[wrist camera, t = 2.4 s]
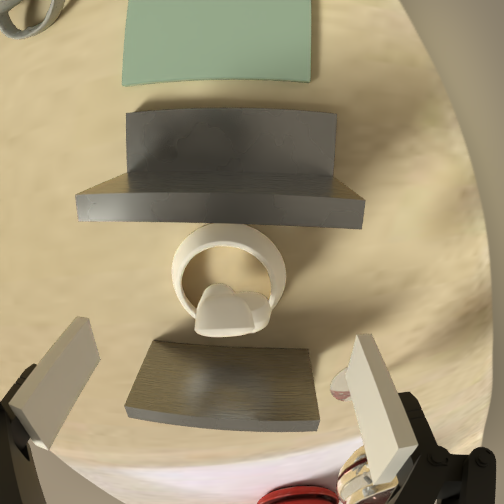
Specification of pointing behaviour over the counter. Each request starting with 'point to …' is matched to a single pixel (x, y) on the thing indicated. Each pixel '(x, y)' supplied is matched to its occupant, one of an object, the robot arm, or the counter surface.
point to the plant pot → (300, 496)
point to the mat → (217, 41)
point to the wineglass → (357, 464)
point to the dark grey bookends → (232, 212)
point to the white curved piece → (222, 296)
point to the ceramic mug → (3, 2)
